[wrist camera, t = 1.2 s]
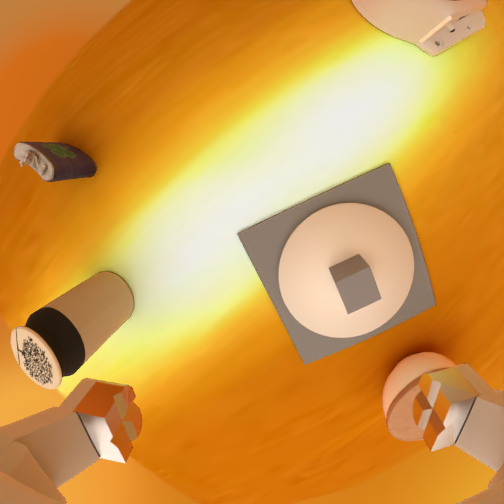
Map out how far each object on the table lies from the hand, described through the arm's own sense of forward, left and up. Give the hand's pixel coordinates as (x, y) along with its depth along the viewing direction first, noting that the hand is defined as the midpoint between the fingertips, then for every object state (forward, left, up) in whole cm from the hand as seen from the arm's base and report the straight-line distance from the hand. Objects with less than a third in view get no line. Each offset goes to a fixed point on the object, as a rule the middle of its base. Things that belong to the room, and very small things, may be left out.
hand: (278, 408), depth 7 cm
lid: (-5, +9, -29) cm, 31 cm away
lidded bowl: (-9, +29, -30) cm, 42 cm away
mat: (-5, +9, -30) cm, 31 cm away
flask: (+21, -21, -30) cm, 42 cm away
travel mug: (+26, -1, -30) cm, 40 cm away
